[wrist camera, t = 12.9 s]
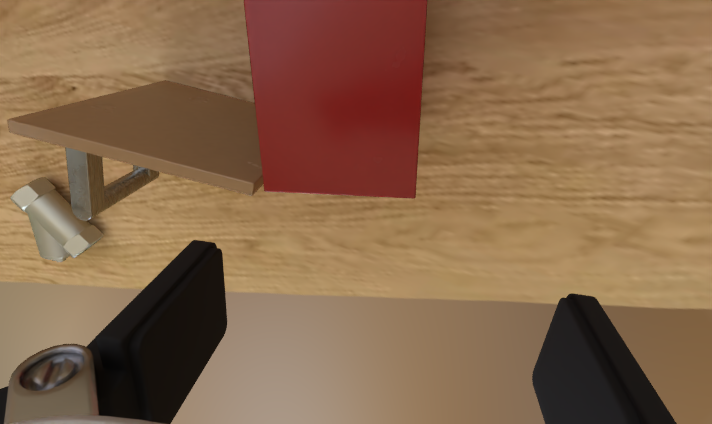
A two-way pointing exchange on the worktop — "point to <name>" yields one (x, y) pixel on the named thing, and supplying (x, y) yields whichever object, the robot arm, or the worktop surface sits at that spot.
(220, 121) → the cabinet door
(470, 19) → the worktop surface
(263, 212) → the worktop surface
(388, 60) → the valve cabinet
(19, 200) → the pipe fitting
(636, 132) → the worktop surface
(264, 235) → the worktop surface
